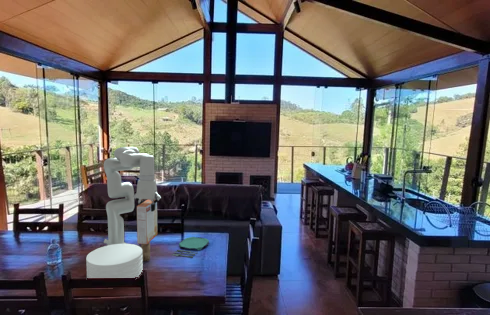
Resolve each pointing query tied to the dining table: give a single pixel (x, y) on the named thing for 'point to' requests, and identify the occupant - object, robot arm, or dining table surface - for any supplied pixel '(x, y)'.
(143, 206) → the cracker box
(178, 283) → the dining table surface
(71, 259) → the dining table surface
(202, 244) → the cutlery set
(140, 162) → the robot arm
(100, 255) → the plate stack
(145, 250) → the walnut pepper mill
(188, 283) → the dining table surface
